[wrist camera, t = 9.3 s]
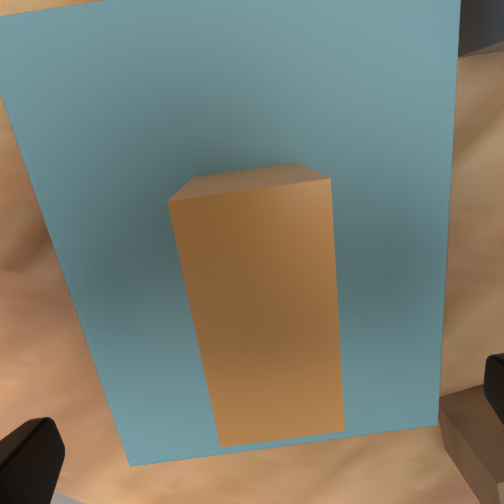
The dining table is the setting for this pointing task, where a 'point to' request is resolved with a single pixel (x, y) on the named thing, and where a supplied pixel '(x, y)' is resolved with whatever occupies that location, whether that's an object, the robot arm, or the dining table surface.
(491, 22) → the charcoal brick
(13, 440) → the robot arm
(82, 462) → the dining table surface
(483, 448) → the walnut brick
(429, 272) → the teal board
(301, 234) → the orange brick
